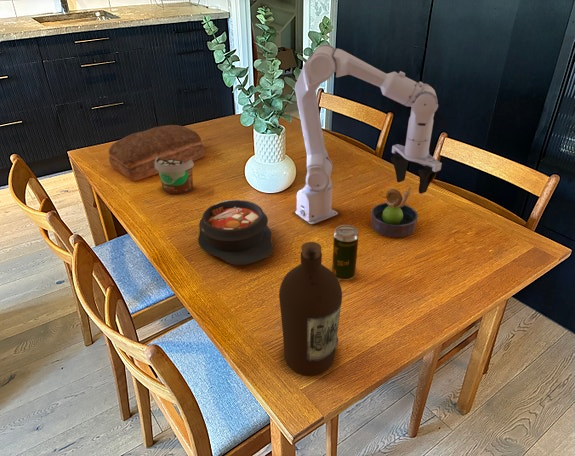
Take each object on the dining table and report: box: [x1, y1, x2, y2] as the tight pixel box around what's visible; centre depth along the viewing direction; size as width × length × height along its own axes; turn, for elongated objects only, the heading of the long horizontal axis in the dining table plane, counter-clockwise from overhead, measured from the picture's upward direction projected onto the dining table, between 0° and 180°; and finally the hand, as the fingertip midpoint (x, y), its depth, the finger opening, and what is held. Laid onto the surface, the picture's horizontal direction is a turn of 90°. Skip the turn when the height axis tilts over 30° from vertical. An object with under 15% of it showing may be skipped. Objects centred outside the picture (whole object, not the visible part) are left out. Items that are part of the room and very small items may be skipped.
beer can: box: [331, 224, 359, 282], centre depth 102 cm, size 5×5×12 cm
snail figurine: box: [382, 187, 412, 225], centre depth 119 cm, size 5×6×12 cm
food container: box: [155, 156, 195, 196], centre depth 138 cm, size 12×6×10 cm, turn 76°
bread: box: [108, 124, 206, 182], centre depth 156 cm, size 17×29×11 cm, turn 133°
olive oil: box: [278, 241, 343, 377], centre depth 79 cm, size 11×11×25 cm
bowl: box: [369, 202, 419, 239], centre depth 121 cm, size 12×12×4 cm
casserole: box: [197, 199, 275, 266], centre depth 115 cm, size 25×19×8 cm
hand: (411, 186), depth 119 cm, fingers open, 7 cm apart
